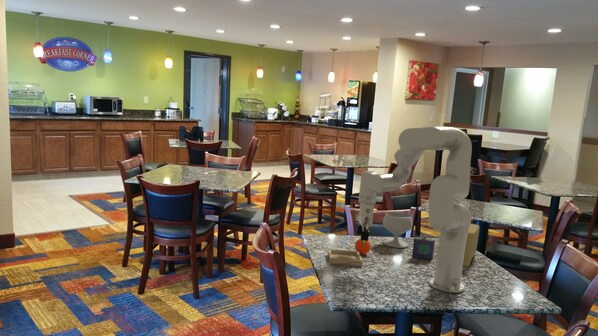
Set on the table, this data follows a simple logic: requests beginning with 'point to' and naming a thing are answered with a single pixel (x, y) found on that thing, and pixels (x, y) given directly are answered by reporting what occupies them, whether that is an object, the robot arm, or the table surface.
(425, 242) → the flask
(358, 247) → the clementine
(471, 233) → the cheese
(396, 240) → the chalice
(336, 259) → the tray
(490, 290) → the table surface
